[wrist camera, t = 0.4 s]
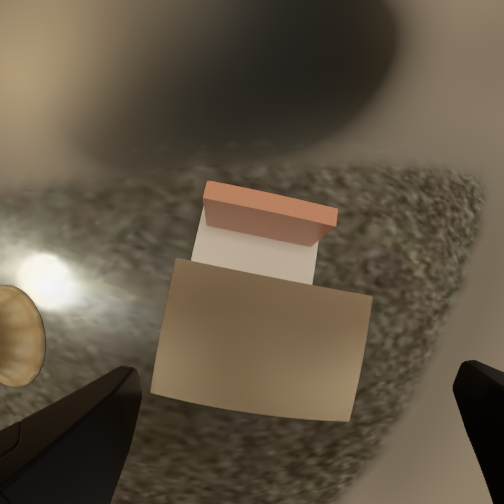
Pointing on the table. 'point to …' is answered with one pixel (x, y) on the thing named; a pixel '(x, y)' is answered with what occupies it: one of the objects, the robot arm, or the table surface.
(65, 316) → the table surface
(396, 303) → the table surface
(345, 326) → the tan tall block
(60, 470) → the robot arm
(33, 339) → the hand bell
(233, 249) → the base
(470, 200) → the table surface
